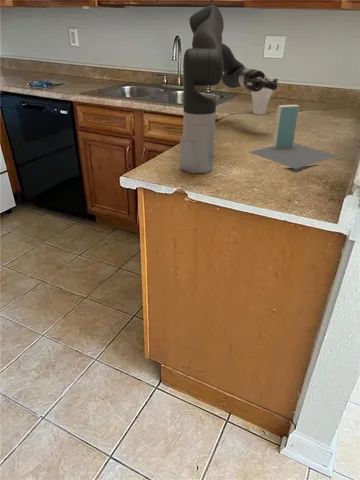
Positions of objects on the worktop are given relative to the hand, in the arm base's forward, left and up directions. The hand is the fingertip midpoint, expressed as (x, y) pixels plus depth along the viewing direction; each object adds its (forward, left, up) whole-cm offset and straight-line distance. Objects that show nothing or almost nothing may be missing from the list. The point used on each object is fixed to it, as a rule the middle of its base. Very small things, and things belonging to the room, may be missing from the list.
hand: (274, 86), depth 133 cm
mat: (-7, -17, -20) cm, 27 cm away
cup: (+35, +37, -20) cm, 55 cm away
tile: (-3, -10, -19) cm, 21 cm away
